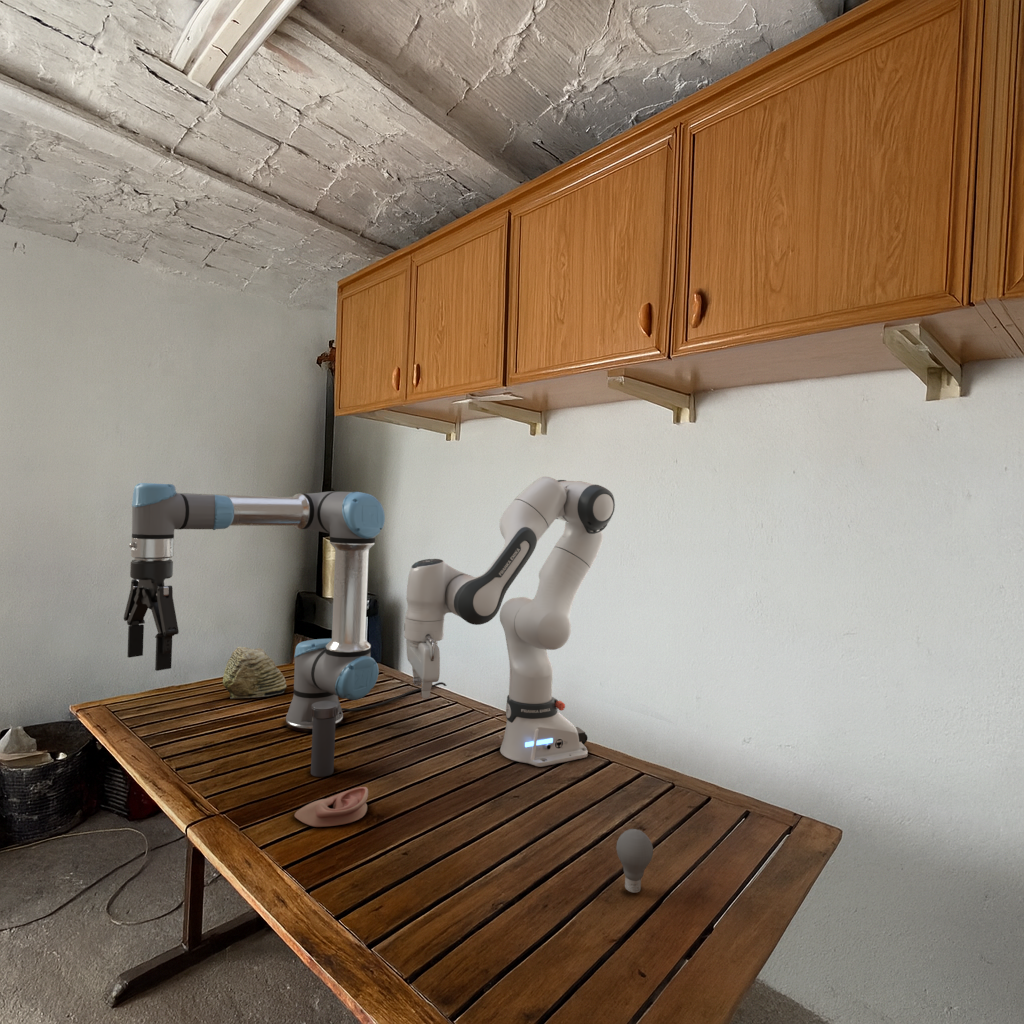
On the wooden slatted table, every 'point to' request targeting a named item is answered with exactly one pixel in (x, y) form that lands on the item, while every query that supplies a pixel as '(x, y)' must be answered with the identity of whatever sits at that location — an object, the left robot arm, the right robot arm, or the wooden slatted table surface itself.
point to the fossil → (252, 674)
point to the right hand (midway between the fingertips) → (421, 690)
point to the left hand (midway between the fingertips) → (148, 662)
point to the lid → (324, 709)
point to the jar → (323, 746)
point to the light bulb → (634, 857)
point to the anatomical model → (335, 809)
